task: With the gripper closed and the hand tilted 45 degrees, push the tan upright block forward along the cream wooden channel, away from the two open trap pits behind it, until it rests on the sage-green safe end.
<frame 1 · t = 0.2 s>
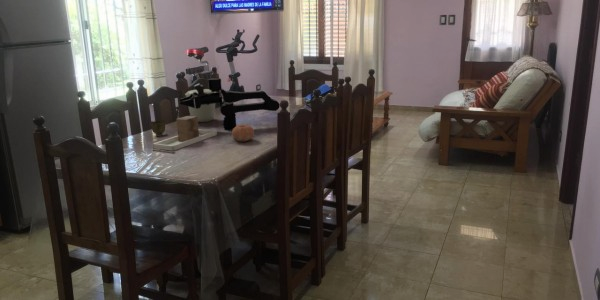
hand: (179, 101, 248), 17 cm above the table, tool horizontal, fingers open, 9 cm apart
cup: (159, 136, 246), on the table
orange pumpkin: (243, 141, 231), on the table
canister: (203, 120, 282), on the table
tan upright block: (189, 140, 229), point 1 cm above the table, touching trap box
trap box: (186, 144, 228), on the table
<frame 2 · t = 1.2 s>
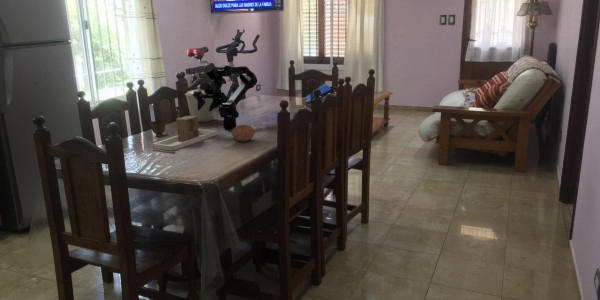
hand: (203, 110, 237), 14 cm above the table, tool tilted 45°, fingers open, 7 cm apart
nothing on the table moved.
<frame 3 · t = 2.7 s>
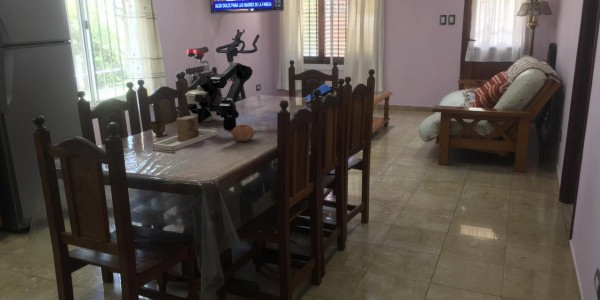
hand: (198, 123, 234), 8 cm above the table, tool tilted 45°, fingers closed
nothing on the table moved.
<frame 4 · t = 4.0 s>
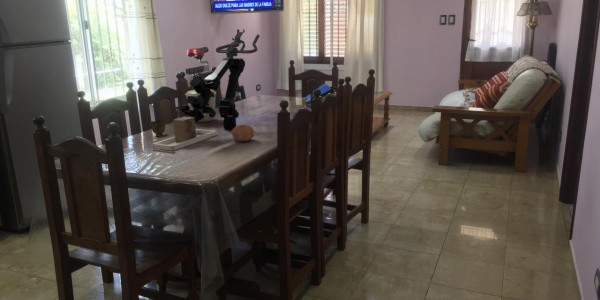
hand: (190, 125, 229), 8 cm above the table, tool tilted 45°, fingers closed, pressing on tan upright block
tan upright block: (186, 141, 227), point 2 cm above the table, touching gripper
everything else where it was.
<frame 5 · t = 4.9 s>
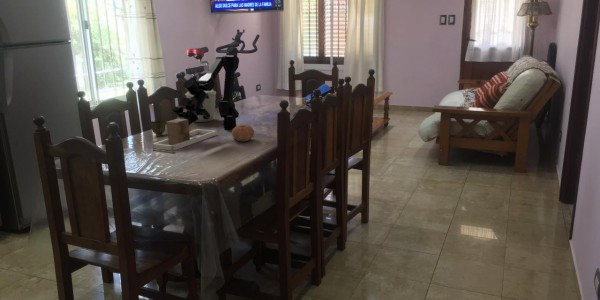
hand: (184, 127, 225), 8 cm above the table, tool tilted 45°, fingers closed, pressing on tan upright block
tan upright block: (179, 143, 223), point 2 cm above the table, touching gripper, trap box
everything else where it was.
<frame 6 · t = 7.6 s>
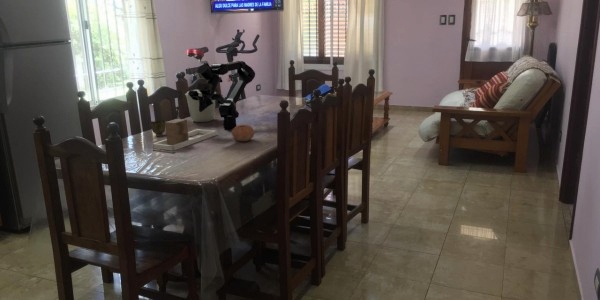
hand: (200, 111, 236), 13 cm above the table, tool tilted 40°, fingers closed
tan upright block: (178, 143, 223), point 1 cm above the table, touching trap box
everything else where it was.
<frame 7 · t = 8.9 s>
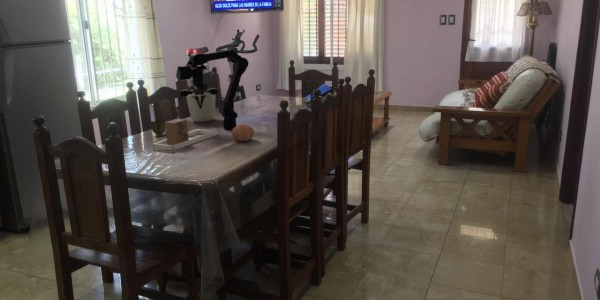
hand: (200, 108, 246), 13 cm above the table, tool pointing down, fingers closed
nothing on the table moved.
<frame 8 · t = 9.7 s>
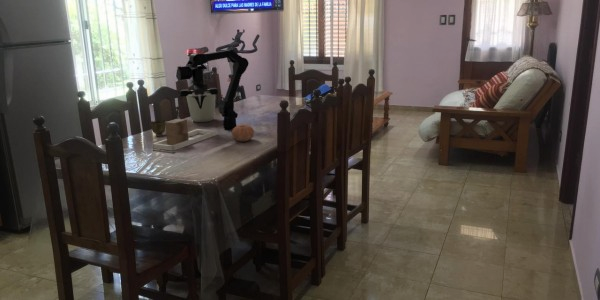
hand: (200, 108, 246), 13 cm above the table, tool pointing down, fingers closed
nothing on the table moved.
at the end: tan upright block inside the target area (1.0 cm from its centre), point 1.5 cm above the table; tan upright block tilted 0°; tan upright block touching trap box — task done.
